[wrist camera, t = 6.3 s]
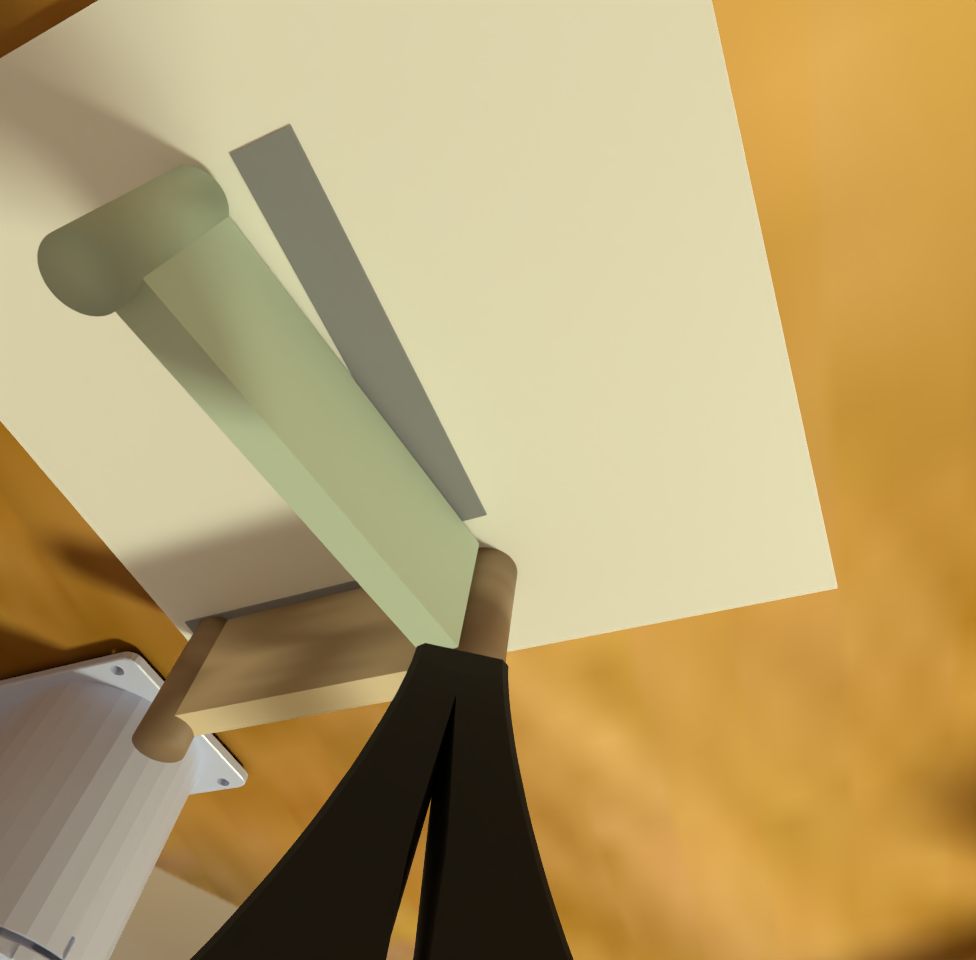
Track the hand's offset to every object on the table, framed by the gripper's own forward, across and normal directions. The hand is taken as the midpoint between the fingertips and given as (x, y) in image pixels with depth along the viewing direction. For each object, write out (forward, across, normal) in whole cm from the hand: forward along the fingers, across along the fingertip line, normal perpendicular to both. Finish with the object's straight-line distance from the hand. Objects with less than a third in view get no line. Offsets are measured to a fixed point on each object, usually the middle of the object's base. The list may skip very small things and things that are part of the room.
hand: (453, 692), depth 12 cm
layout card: (+10, +4, +1) cm, 11 cm away
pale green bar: (+9, +4, 0) cm, 10 cm away
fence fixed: (+9, +4, +9) cm, 13 cm away
